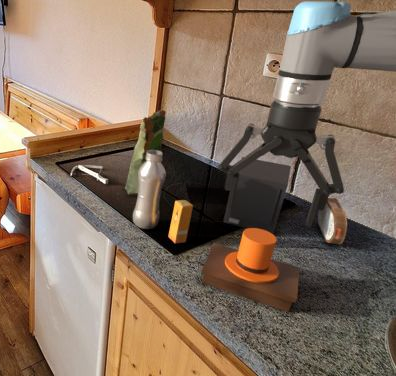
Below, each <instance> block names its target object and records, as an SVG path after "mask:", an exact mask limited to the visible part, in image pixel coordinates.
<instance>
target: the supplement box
mask: <svg viewBox="0 0 396 376" xmlns="http://www.w3.org/2000/svg"><path fill="white" fill-rule="evenodd" d="M193 208H194V205H193V204H192V203H191V202H190V201H188V200H187V199H179V200H175V202H174V207H173V211H172V217H171V222H170V227H169V231H168V238H169V239H170V240H171V241H172V242H173V243H174V244H181V243H182V244H183V243H186V242H187V237H188V234H189V233H188V232H189V228H190V222H191V219H192V218H191V217H192V214H193V213H192V212H193Z"/></svg>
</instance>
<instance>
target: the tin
mask: <svg viewBox="0 0 396 376" xmlns="http://www.w3.org/2000/svg"><path fill="white" fill-rule="evenodd" d="M317 224H318V227H319V229H320V232H321V234H322V236H323V238H324V240H325V242H326V243H328V244H332V245H333V244H334V245H338V246H341V245H343V243H344V241H345V238H346V236H347V231H348V216H347V214H346V212H345V210H344V208H343V207H342V205H341V203H340V202H339V200H338V198H336V197H334V198H333V197H328V200H327V203H326V206H325V209H324V210H323V211H322V210H318V212H317Z"/></svg>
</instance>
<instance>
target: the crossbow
mask: <svg viewBox="0 0 396 376" xmlns="http://www.w3.org/2000/svg"><path fill="white" fill-rule="evenodd" d="M88 168H89V169H88ZM90 168H91V169H100V171H99V173H98V172H95V171H93V170H91V169H90ZM77 169H78V170H80V171H82V172H84V173H83V175H86V176H92V177H94V178H96V181H99V182H102V183H103V184H105V185H108V184H109V179H108V178H105V177H103V176H102V175H100V173H101V171H102V169H104V167H103V165H94V164H93V165H91V164H78V165H75V166H74V167H72V169H71V171H70V176H71V177H72V176H73V175H75V173H74V171H75V170H77ZM85 173H86V174H85Z"/></svg>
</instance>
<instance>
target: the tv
mask: <svg viewBox="0 0 396 376" xmlns="http://www.w3.org/2000/svg"><path fill="white" fill-rule="evenodd" d="M244 157H245V156H242V157H241V159H242V158H244ZM291 169H292V167H291V165H289V164H283V163H277V162H272V161H267V160H261V159H256V160H255V161H254V162H252V163H251V164H249V165H248V166H246V167H245V168H243V169H242V170H240V171H239V172H237V173H240V174H239V178H238V183H237V188H236V192H235V197H234V202H233V205H232V207H231V209H229V208H227V207H225V213H224V216H223V223H225V224H229V225H232V226H236V227H239V228H244V229H248V228H258V229H262V230H265V231H268V232H270V233H272V234H273V235H274V234H275V230H276V227H277V223H278V220H279V218H280V217H279V216H280V213H281V210H282V206H283V203H284V199H285V196H286V192H287V189H288V186H289V181H290V175H291ZM229 195H230V193H229V194H228V196H229ZM227 204H228V202H227V203H226V205H227Z"/></svg>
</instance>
